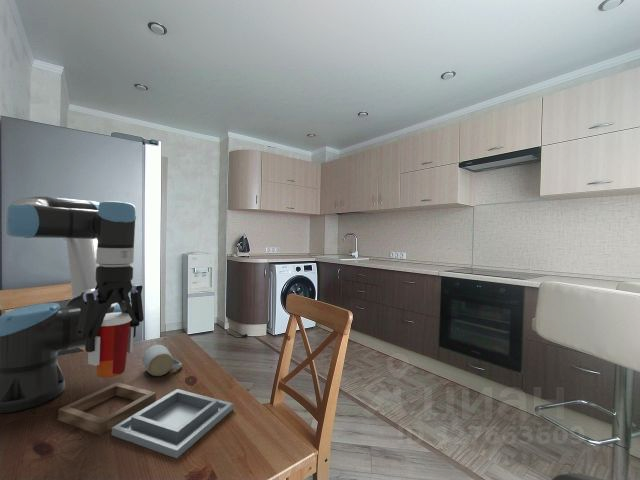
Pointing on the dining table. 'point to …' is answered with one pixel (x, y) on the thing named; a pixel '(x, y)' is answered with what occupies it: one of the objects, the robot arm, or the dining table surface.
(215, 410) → the grey tray
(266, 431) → the dining table surface
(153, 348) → the ceramic mug
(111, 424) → the walnut collar
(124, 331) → the paper cup
